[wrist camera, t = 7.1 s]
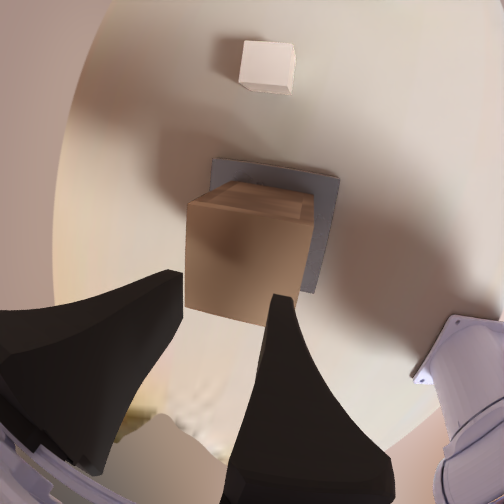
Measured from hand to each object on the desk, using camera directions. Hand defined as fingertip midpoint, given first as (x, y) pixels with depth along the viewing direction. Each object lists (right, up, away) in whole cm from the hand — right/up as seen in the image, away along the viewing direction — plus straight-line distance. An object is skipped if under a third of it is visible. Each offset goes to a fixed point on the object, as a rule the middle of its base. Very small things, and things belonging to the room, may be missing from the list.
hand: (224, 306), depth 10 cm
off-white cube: (+2, +13, +5) cm, 14 cm away
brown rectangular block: (+2, +4, +8) cm, 9 cm away
